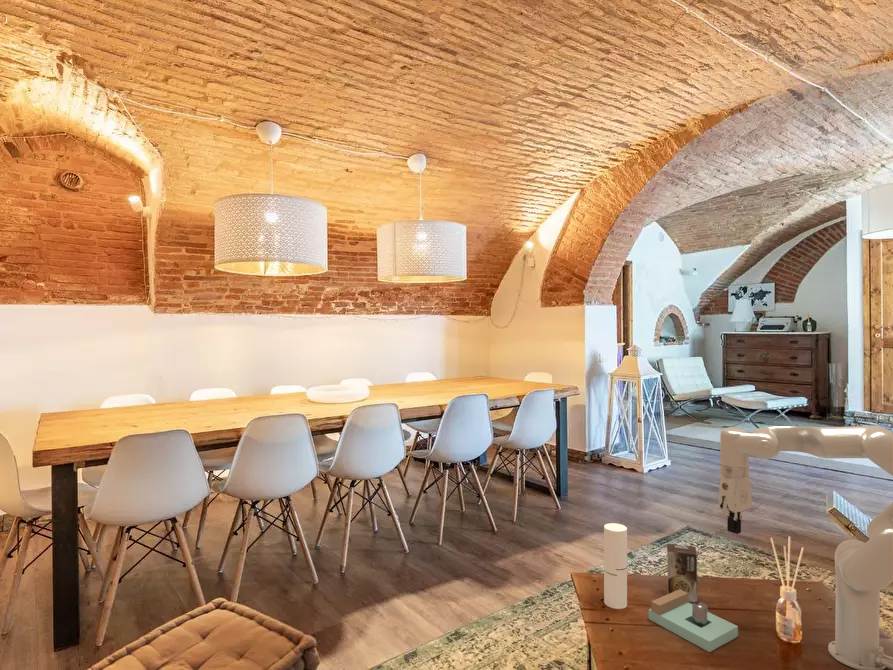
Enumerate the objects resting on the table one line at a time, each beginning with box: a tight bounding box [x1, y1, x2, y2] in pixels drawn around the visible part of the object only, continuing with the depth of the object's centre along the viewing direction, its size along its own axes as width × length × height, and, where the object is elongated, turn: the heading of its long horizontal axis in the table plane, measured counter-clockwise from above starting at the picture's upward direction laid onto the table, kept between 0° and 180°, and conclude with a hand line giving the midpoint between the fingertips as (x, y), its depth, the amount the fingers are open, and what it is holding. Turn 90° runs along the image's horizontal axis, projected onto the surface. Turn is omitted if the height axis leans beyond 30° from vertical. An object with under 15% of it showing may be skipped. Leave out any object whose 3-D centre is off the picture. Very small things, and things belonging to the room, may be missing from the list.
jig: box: [648, 589, 739, 653], centre depth 163 cm, size 20×14×6 cm
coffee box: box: [666, 543, 698, 603], centre depth 181 cm, size 9×6×16 cm
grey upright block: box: [691, 600, 708, 628], centre depth 160 cm, size 4×4×8 cm
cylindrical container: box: [603, 522, 628, 610], centre depth 177 cm, size 7×7×25 cm
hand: (734, 531), depth 161 cm, fingers closed
